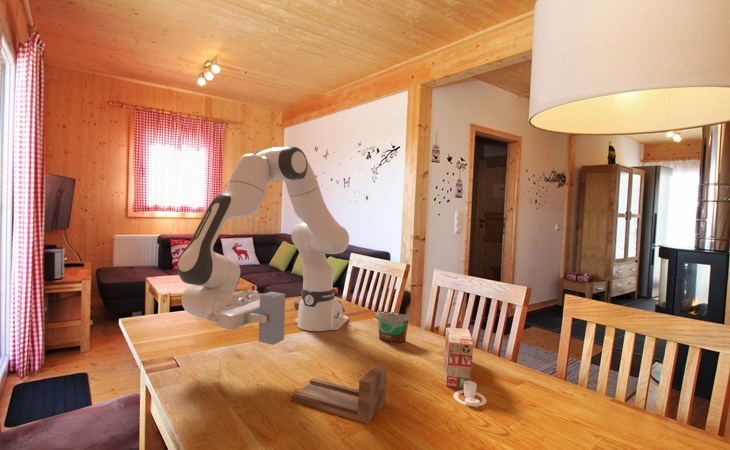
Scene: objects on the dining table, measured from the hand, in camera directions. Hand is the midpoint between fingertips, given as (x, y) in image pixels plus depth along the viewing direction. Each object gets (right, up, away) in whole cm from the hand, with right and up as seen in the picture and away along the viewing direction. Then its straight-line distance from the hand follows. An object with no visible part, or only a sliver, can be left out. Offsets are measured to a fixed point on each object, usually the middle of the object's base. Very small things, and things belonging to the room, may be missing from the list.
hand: (275, 316), depth 101 cm
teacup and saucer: (+46, -21, -3) cm, 51 cm away
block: (-1, -6, +1) cm, 7 cm away
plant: (+3, -13, +74) cm, 75 cm away
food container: (+31, -17, +36) cm, 51 cm away
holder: (+17, -19, -7) cm, 26 cm away
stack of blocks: (+49, -19, +13) cm, 55 cm away
